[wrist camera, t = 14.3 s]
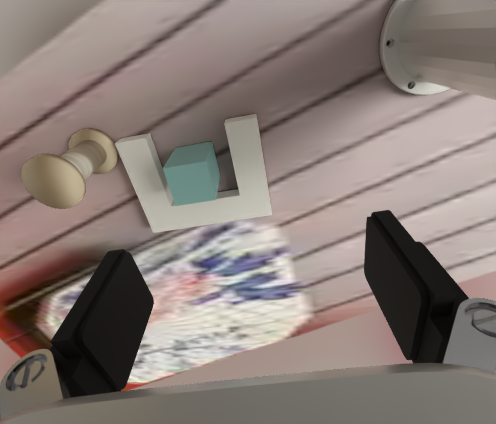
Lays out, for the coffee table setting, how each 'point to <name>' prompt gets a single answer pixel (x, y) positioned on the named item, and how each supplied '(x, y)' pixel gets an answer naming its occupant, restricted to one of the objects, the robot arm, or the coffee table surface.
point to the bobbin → (69, 169)
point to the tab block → (193, 174)
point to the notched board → (227, 202)
